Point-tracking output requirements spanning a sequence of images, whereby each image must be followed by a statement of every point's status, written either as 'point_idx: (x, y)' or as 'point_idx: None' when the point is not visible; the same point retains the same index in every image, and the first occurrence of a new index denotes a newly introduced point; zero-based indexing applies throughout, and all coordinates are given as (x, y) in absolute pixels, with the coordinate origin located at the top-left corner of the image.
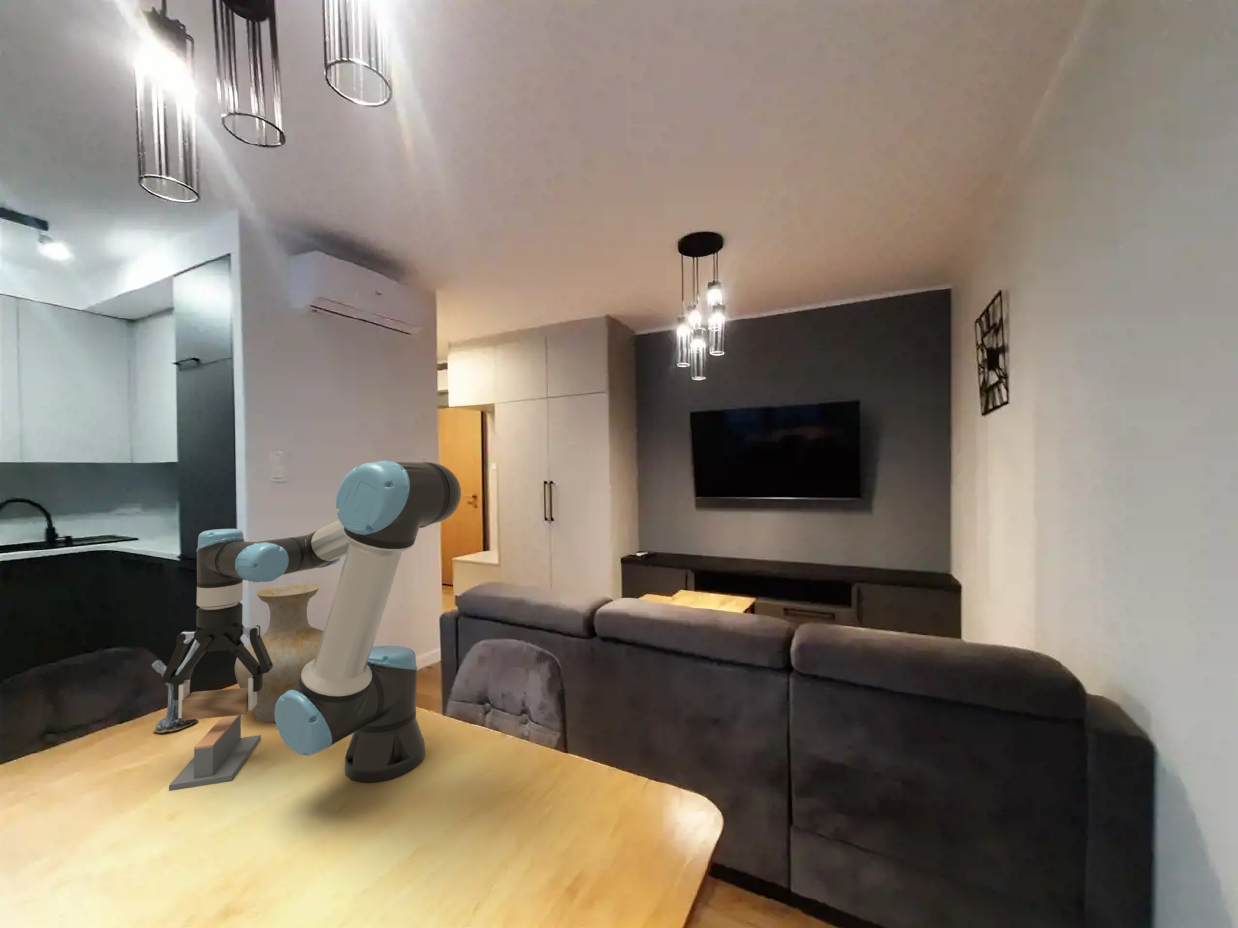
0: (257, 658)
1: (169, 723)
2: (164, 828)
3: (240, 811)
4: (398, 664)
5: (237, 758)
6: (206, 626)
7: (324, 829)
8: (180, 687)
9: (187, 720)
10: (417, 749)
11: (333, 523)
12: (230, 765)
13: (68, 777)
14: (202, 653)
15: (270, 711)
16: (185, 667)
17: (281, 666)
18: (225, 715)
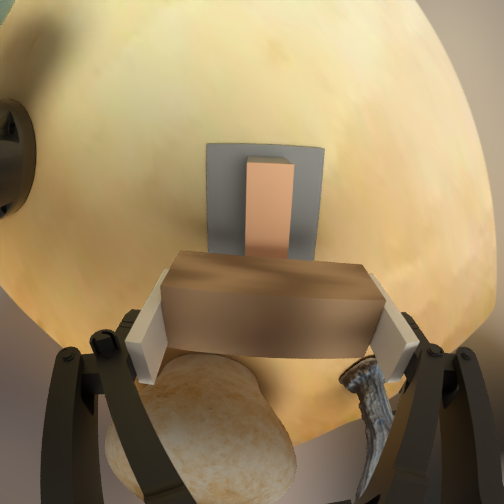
0: (71, 412)
1: (375, 369)
2: (273, 20)
3: (157, 36)
4: None
5: (221, 217)
6: None
7: (50, 4)
8: (411, 336)
9: (353, 375)
10: None
11: None
12: (225, 190)
13: (461, 262)
14: (381, 485)
15: (216, 368)
16: (432, 406)
17: (166, 435)
18: (238, 257)
